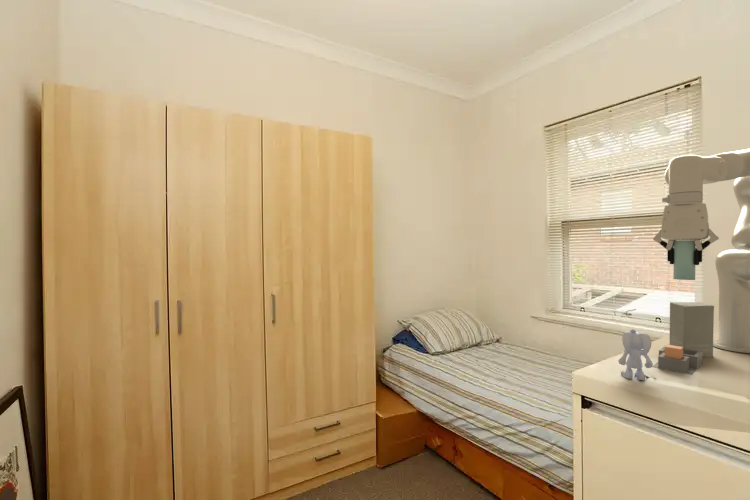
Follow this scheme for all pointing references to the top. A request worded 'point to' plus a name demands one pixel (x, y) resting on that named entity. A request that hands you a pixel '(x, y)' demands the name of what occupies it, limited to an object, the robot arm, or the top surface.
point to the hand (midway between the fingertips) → (684, 263)
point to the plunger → (674, 352)
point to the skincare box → (692, 326)
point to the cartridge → (684, 260)
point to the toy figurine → (635, 353)
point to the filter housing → (680, 361)
